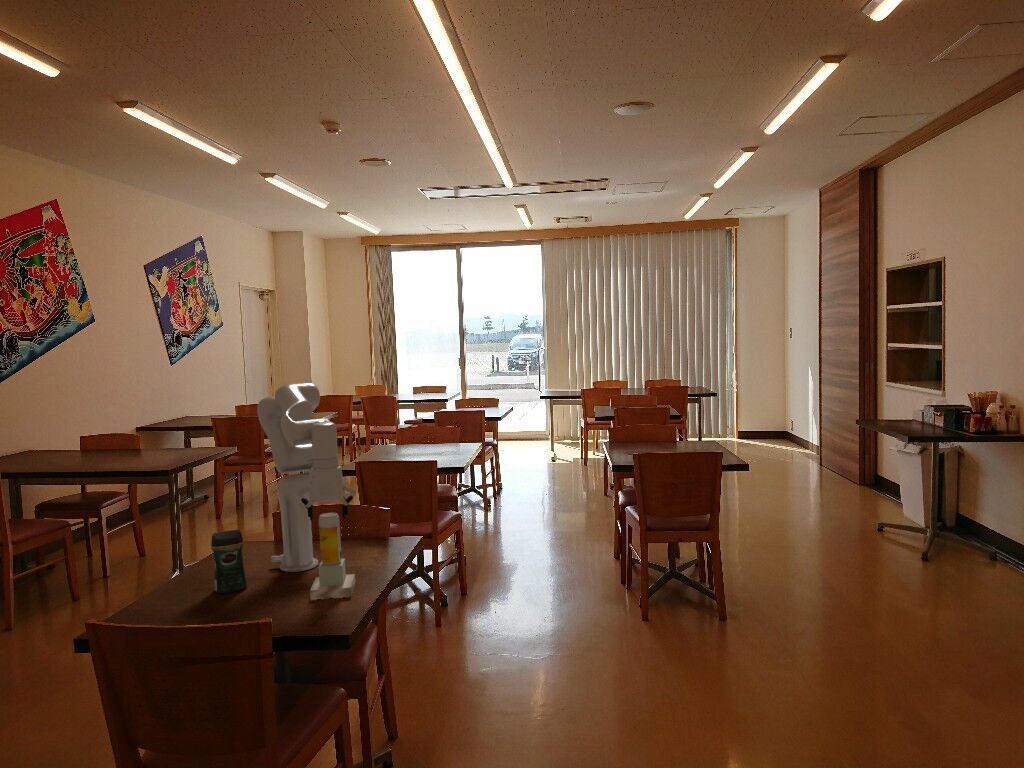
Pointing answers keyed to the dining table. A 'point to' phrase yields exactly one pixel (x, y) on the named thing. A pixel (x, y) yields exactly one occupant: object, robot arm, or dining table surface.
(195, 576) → the dining table surface
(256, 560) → the dining table surface
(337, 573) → the cube
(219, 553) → the coffee jar
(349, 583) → the slab
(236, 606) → the dining table surface
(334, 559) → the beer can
